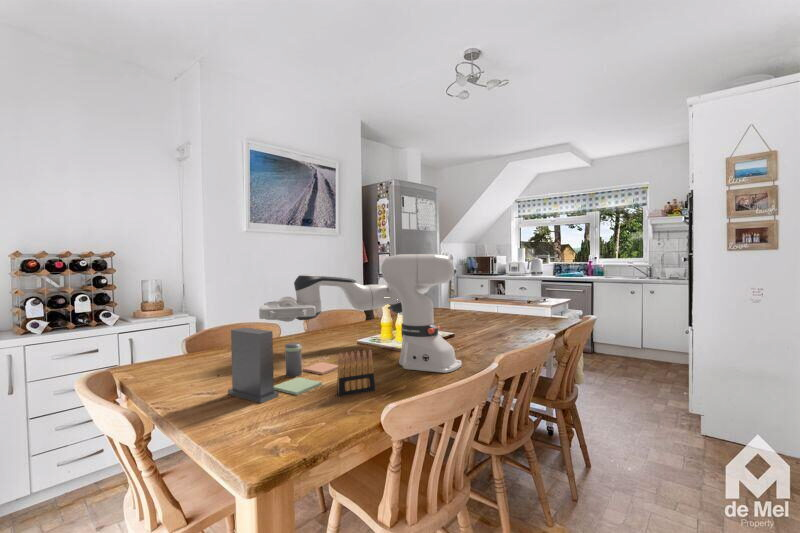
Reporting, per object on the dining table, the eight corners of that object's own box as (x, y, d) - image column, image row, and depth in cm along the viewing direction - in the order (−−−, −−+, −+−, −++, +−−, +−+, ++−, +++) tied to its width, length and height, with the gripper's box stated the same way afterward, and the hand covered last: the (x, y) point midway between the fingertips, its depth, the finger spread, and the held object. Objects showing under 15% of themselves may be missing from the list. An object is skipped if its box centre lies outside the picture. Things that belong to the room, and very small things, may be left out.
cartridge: (305, 373, 128) (304, 343, 128) (293, 378, 123) (292, 347, 123) (294, 371, 131) (293, 342, 130) (282, 375, 126) (281, 345, 126)
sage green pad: (321, 384, 117) (321, 382, 117) (297, 395, 108) (296, 392, 108) (298, 379, 122) (297, 377, 122) (272, 389, 113) (272, 386, 113)
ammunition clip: (338, 396, 107) (337, 353, 106) (336, 394, 108) (336, 352, 108) (375, 390, 111) (374, 349, 111) (372, 388, 113) (372, 347, 113)
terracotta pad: (340, 367, 134) (340, 365, 134) (322, 374, 126) (322, 372, 126) (321, 364, 139) (321, 362, 139) (302, 370, 131) (302, 368, 131)
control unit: (278, 396, 108) (277, 331, 107) (260, 403, 102) (259, 335, 102) (246, 387, 115) (244, 326, 114) (227, 394, 110) (226, 330, 109)
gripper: (315, 316, 154) (318, 321, 141) (260, 319, 148) (258, 325, 135) (314, 300, 154) (317, 304, 141) (260, 302, 148) (258, 306, 135)
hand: (288, 314), depth 138 cm, fingers open, 8 cm apart
